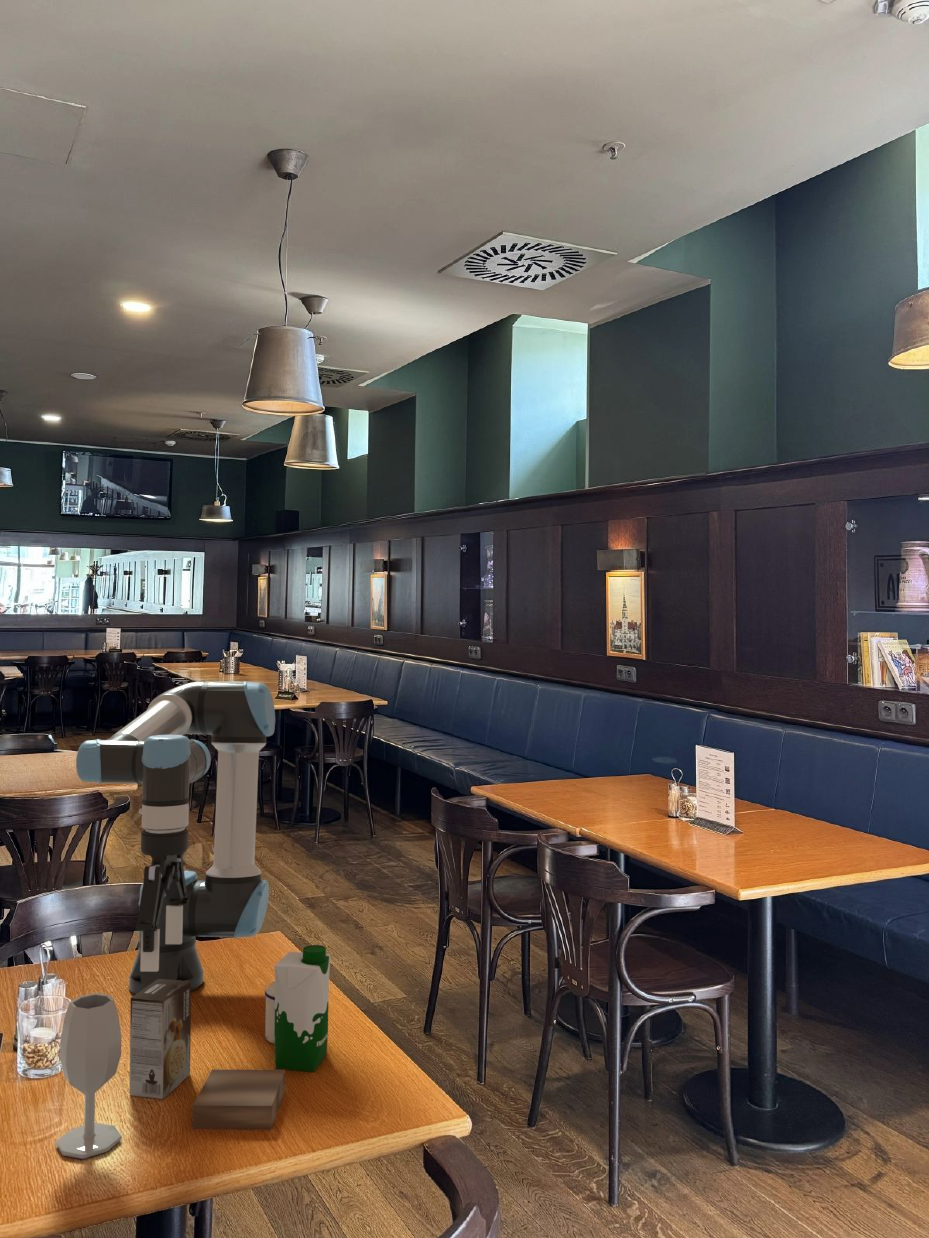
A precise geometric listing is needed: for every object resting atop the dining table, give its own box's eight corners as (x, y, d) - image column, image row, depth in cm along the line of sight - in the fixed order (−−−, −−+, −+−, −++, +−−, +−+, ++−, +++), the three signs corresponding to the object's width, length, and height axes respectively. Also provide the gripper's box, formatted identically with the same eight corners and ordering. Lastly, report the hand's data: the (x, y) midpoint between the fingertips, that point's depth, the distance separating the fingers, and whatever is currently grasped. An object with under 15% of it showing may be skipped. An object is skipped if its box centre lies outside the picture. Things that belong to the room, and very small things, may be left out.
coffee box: (156, 1070, 165) (158, 976, 165) (191, 1074, 163) (192, 980, 164) (127, 1095, 156) (129, 996, 156) (163, 1100, 154) (165, 1000, 155)
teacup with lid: (312, 1045, 175) (313, 981, 176) (261, 1047, 174) (262, 983, 175) (315, 1019, 187) (316, 959, 187) (267, 1020, 186) (268, 960, 186)
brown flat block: (211, 1093, 158) (211, 1069, 158) (284, 1094, 158) (285, 1069, 158) (192, 1131, 146) (192, 1105, 146) (271, 1132, 146) (271, 1105, 146)
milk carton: (317, 1075, 164) (319, 957, 164) (267, 1070, 165) (269, 953, 166) (333, 1052, 172) (334, 941, 173) (285, 1048, 174) (287, 938, 174)
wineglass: (44, 1147, 140) (47, 1003, 140) (96, 1122, 147) (99, 985, 147) (80, 1167, 135) (83, 1017, 135) (132, 1140, 142) (135, 998, 143)
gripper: (164, 814, 172) (161, 933, 172) (116, 844, 147) (113, 983, 147) (206, 815, 173) (203, 933, 172) (165, 844, 148) (162, 983, 147)
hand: (162, 956), depth 160 cm, fingers open, 13 cm apart
